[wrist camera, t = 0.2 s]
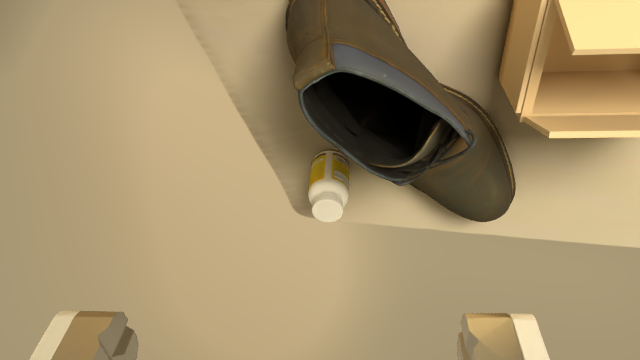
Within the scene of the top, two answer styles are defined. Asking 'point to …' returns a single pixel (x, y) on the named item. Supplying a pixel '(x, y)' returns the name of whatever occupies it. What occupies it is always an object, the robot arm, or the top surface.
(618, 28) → the flap
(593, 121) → the flap
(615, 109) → the carton
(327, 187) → the supplement bottle
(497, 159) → the boot
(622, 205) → the top surface
